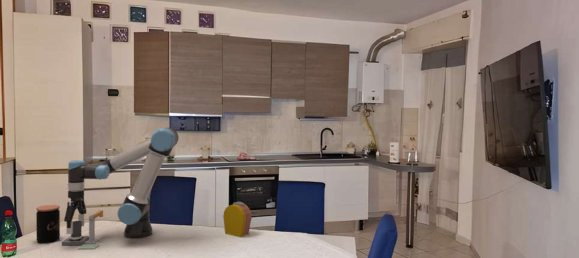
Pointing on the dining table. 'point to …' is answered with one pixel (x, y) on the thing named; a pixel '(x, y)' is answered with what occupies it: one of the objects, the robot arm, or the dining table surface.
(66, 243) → the socket
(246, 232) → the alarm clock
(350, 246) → the dining table surface
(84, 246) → the mat
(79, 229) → the plug
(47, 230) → the coffee jar
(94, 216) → the clip
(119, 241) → the dining table surface
